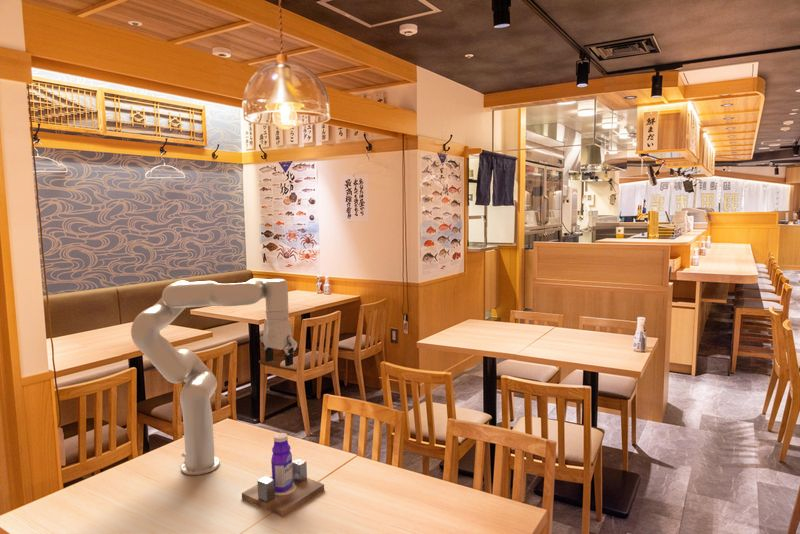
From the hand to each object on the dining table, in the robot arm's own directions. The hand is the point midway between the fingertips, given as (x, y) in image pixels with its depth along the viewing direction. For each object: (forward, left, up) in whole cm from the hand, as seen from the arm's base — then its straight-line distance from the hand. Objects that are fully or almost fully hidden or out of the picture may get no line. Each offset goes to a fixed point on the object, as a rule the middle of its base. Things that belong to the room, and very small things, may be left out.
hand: (279, 363), depth 187 cm
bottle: (+16, -15, -34) cm, 41 cm away
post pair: (+16, -15, -34) cm, 41 cm away
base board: (+16, -15, -36) cm, 42 cm away
